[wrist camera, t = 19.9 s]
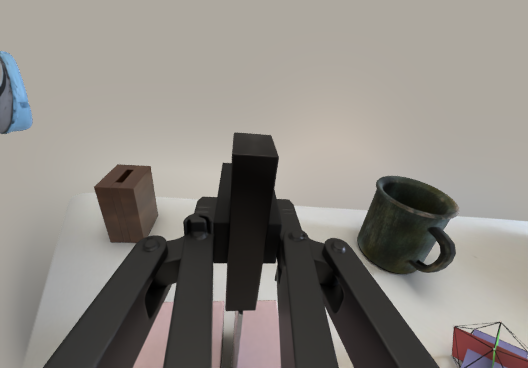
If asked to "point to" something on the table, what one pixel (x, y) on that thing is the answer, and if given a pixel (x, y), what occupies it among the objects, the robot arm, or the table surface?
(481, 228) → the table surface
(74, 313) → the table surface
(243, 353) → the cake slice
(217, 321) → the cake
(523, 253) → the table surface
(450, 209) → the mug
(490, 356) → the geometric puzzle
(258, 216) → the knife
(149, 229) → the knife block
